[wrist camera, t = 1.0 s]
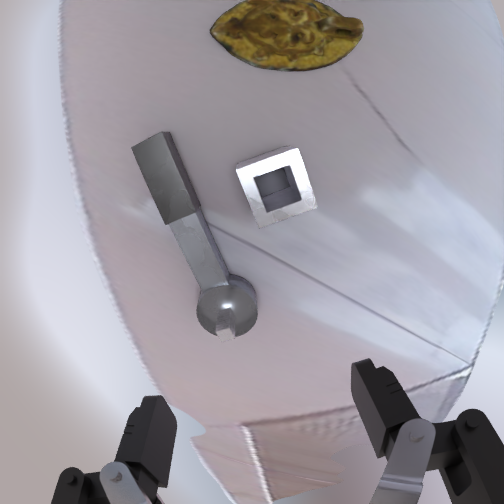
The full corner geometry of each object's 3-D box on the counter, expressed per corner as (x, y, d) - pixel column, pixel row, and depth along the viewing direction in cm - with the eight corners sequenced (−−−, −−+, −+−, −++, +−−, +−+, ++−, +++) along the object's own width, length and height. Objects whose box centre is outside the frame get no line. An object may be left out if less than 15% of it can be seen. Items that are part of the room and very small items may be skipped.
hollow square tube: (237, 163, 26) (235, 170, 21) (286, 145, 26) (298, 148, 20) (255, 210, 28) (258, 228, 23) (302, 193, 28) (317, 207, 22)
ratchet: (264, 312, 33) (268, 348, 27) (214, 327, 34) (209, 365, 28) (184, 125, 25) (167, 122, 19) (128, 153, 25) (98, 159, 19)
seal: (216, 79, 24) (360, 74, 24) (211, 74, 20) (379, 70, 20) (207, 2, 20) (350, 0, 19) (201, -15, 16) (366, -13, 15)
